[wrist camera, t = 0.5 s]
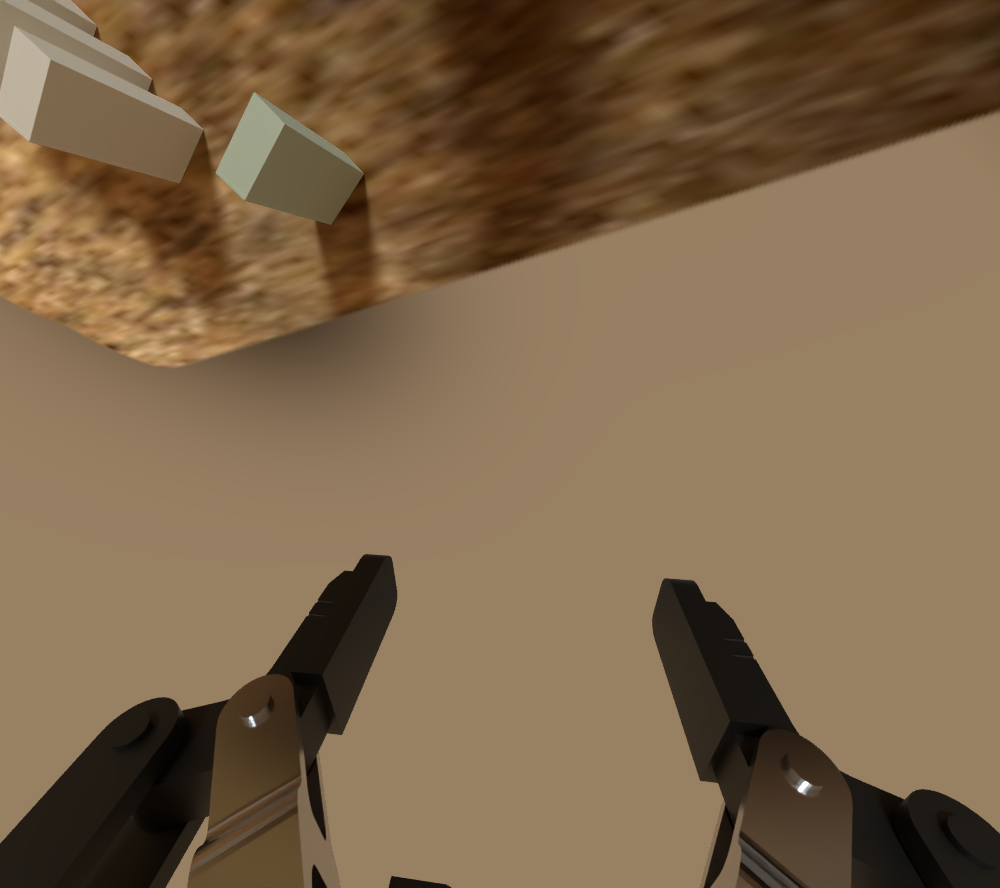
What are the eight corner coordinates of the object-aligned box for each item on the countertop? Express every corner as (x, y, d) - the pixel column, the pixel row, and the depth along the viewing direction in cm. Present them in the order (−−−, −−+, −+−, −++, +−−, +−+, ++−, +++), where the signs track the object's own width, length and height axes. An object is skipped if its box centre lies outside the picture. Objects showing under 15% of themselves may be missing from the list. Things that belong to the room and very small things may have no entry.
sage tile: (312, 206, 30) (215, 172, 21) (344, 152, 29) (253, 91, 20) (331, 225, 31) (244, 200, 22) (364, 173, 29) (284, 123, 20)
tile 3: (107, 117, 29) (-87, 42, 20) (128, 56, 27) (-75, -57, 18) (130, 138, 30) (-49, 74, 21) (152, 79, 28) (-34, -19, 19)
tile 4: (158, 163, 30) (-5, 112, 21) (181, 107, 28) (14, 25, 19) (179, 183, 31) (29, 141, 22) (203, 129, 29) (50, 59, 20)
